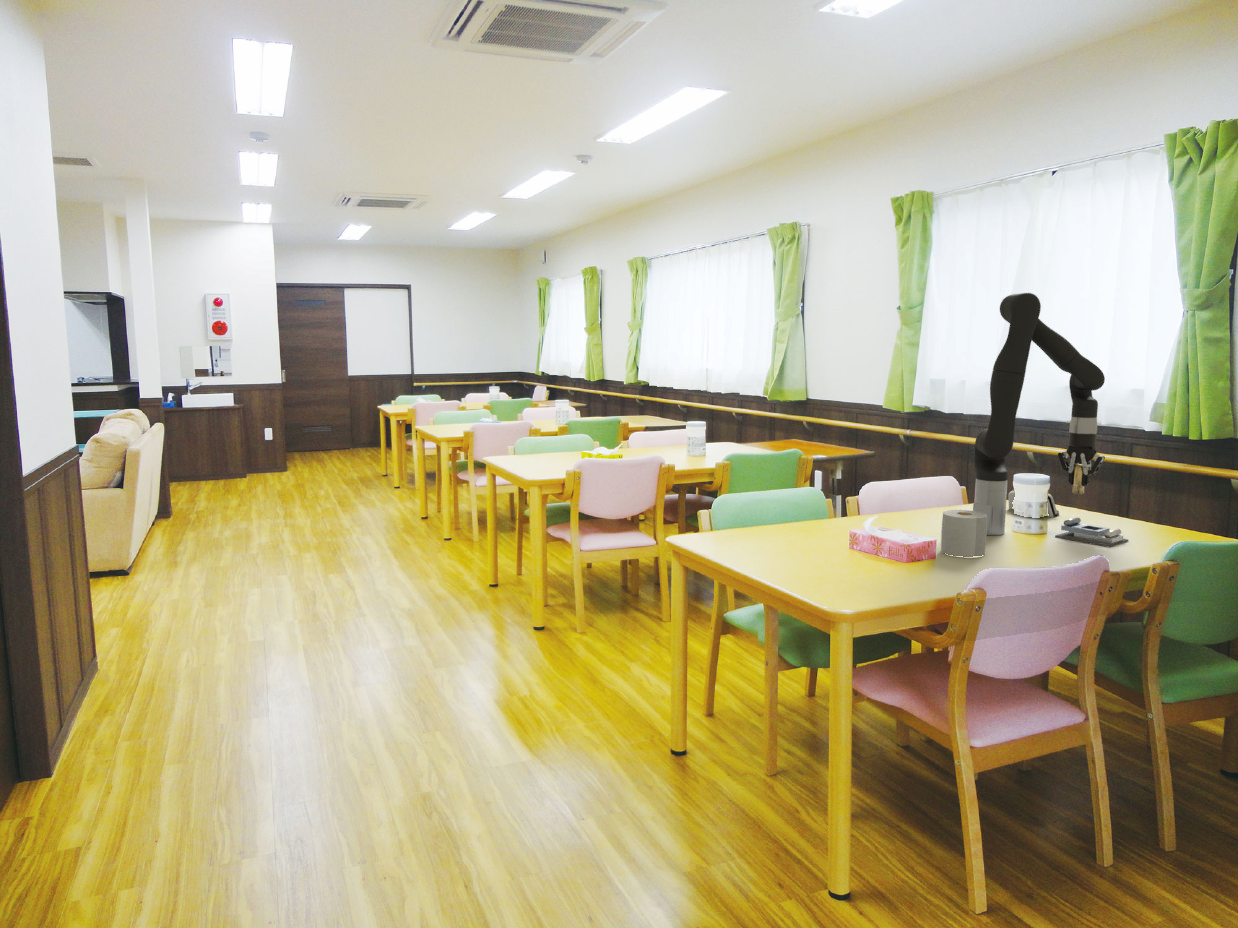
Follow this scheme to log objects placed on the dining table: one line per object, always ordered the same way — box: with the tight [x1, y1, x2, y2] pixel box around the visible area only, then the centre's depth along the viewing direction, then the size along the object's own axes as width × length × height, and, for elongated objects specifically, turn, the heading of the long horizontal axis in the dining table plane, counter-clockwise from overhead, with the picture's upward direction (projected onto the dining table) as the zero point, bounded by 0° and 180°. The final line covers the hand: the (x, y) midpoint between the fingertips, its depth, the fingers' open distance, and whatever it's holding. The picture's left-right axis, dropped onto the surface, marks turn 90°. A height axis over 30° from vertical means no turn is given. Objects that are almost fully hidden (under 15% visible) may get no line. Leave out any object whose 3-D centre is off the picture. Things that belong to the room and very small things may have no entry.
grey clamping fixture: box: [1060, 516, 1124, 544], centre depth 251 cm, size 7×15×5 cm, turn 35°
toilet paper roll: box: [940, 509, 988, 557], centre depth 236 cm, size 12×12×12 cm
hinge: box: [1007, 489, 1060, 518], centre depth 290 cm, size 17×5×10 cm, turn 29°
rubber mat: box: [1054, 531, 1129, 548], centre depth 251 cm, size 12×16×1 cm
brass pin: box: [1071, 463, 1085, 495], centre depth 259 cm, size 3×3×9 cm
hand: (1078, 485), depth 259 cm, fingers closed on brass pin, 3 cm apart
